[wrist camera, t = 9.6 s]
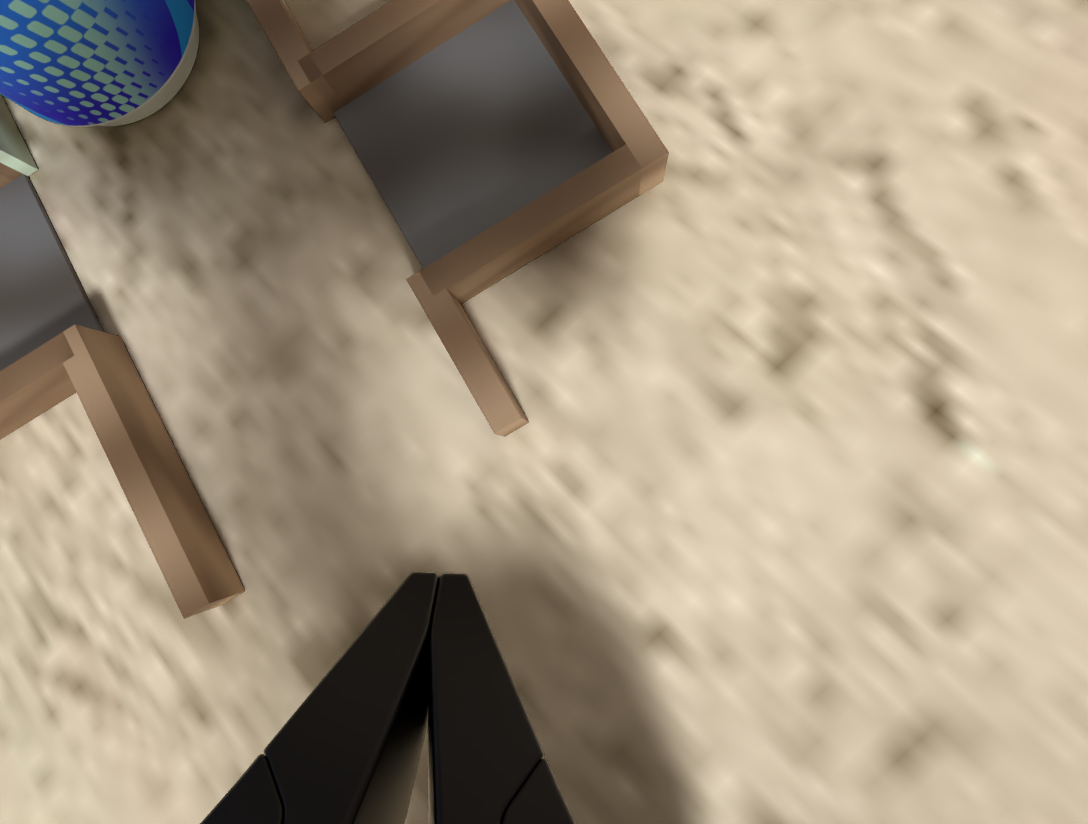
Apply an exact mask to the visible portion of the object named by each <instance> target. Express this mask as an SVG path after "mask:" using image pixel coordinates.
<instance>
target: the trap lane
mask: <svg viewBox="0 0 1088 824" xmlns="http://www.w3.org/2000/svg"><path fill="white" fill-rule="evenodd" d="M247 2H248V4H249V5H250V7H251V9H252V11H253V12H254V14H255V16H256V18H257V19H258V21H259V23H260V25H261V26H262V28H263V30H264V32H265V33H266V35H267V37H268V39H269V40H270V42H271V44H272V46H273V47H274V49H275V51H276V53H277V54H278V56H279V58H280V60H281V61H282V63H283V65H284V67H285V68H286V70H287V72H288V74H289V75H290V77H291V79H292V81H293V82H294V84H295V86H296V88H297V89H298V91H299V92H300V93H301V95H302V96H303V97H304V98H305V99H306V101H307V102H308V103H309V104H310V105H311V107H312V108H313V109H314V110H315V112H316V113H317V114H318V115H319V116H320V118H321V119H322V120H323V121H324V122H327V121H328V120H330V119H332V118H333V117H335V116H336V118H337V120H338V122H339V123H340V125H341V127H342V129H343V130H344V132H345V134H346V135H347V137H348V139H349V141H350V142H351V144H352V146H353V148H354V149H355V151H356V153H357V154H358V156H359V158H360V160H361V161H362V163H363V165H364V167H365V168H366V170H367V172H368V174H369V175H370V177H371V179H372V180H373V182H374V184H375V186H376V187H377V189H378V191H379V193H380V194H381V196H382V198H383V199H384V201H385V203H386V205H387V206H388V208H389V210H390V212H391V213H392V215H393V217H394V218H395V220H396V222H397V224H398V225H399V227H400V229H401V231H402V232H403V234H404V236H405V237H406V239H407V241H408V243H409V244H410V246H411V248H412V250H413V251H414V253H415V255H416V257H417V258H418V260H419V262H420V263H421V265H422V267H423V269H422V270H420V271H419V272H417V273H415V274H414V275H412V276H410V277H409V278H407V279H406V280H407V282H408V283H409V285H410V287H411V288H412V290H413V292H414V294H415V295H416V297H417V299H418V301H419V302H420V304H421V306H422V308H423V309H424V311H425V313H426V315H427V316H428V318H429V320H430V322H431V323H432V325H433V327H434V329H435V330H436V332H437V334H438V336H439V337H440V339H441V341H442V343H443V344H444V346H445V348H446V350H447V351H448V353H449V355H450V357H451V358H452V360H453V362H454V364H455V365H456V367H457V369H458V371H459V372H460V374H461V376H462V378H463V379H464V381H465V383H466V385H467V386H468V388H469V390H470V392H471V393H472V395H473V397H474V399H475V400H476V402H477V404H478V406H479V407H480V409H481V411H482V413H483V414H484V416H485V418H486V420H487V421H488V423H489V425H490V427H491V428H492V430H493V432H494V434H498V435H501V436H507V435H508V434H510V433H512V432H513V431H515V430H517V429H518V428H520V427H522V426H523V425H525V424H527V423H528V422H529V421H528V419H527V418H526V416H525V414H524V412H523V411H522V409H521V407H520V405H519V404H518V402H517V400H516V399H515V397H514V395H513V393H512V392H511V390H510V388H509V387H508V385H507V383H506V381H505V380H504V378H503V376H502V375H501V373H500V371H499V369H498V368H497V366H496V364H495V363H494V361H493V359H492V357H491V356H490V354H489V352H488V351H487V349H486V347H485V345H484V344H483V342H482V340H481V339H480V337H479V335H478V333H477V332H476V330H475V328H474V327H473V325H472V323H471V321H470V320H469V318H468V316H467V314H466V313H465V311H464V309H463V308H462V306H461V304H462V303H464V302H465V301H467V300H469V299H470V298H472V297H473V296H475V295H477V294H478V293H480V292H482V291H483V290H485V289H487V288H488V287H490V286H492V285H493V284H495V283H496V282H498V281H500V280H501V279H503V278H505V277H506V276H508V275H510V274H511V273H513V272H515V271H516V270H518V269H519V268H521V267H523V266H524V265H526V264H528V263H529V262H531V261H533V260H534V259H536V258H538V257H539V256H541V255H542V254H544V253H546V252H547V251H549V250H551V249H552V248H554V247H556V246H557V245H559V244H560V243H562V242H564V241H565V240H567V239H569V238H570V237H572V236H574V235H575V234H577V233H579V232H580V231H582V230H583V229H585V228H587V227H588V226H590V225H592V224H593V223H595V222H597V221H598V220H600V219H602V218H603V217H605V216H606V215H608V214H610V213H611V212H613V211H615V210H616V209H618V208H620V207H621V206H623V205H625V204H626V203H628V202H629V201H631V200H633V199H634V198H636V197H638V196H639V195H641V194H643V193H644V192H646V191H647V190H649V189H651V188H652V187H654V186H656V185H657V184H659V183H661V182H662V181H663V179H664V174H665V169H666V164H667V159H668V153H669V152H668V150H667V149H666V147H665V146H664V144H663V143H662V141H661V140H660V138H659V137H658V135H657V134H656V132H655V131H654V129H653V128H652V126H651V125H650V123H649V122H648V120H647V119H646V117H645V116H644V114H643V113H642V111H641V110H640V108H639V107H638V105H637V104H636V102H635V101H634V99H633V97H632V96H631V94H630V93H629V91H628V90H627V88H626V87H625V85H624V84H623V82H622V81H621V79H620V78H619V76H618V75H617V73H616V72H615V70H614V69H613V67H612V66H611V64H610V63H609V61H608V60H607V58H606V57H605V55H604V54H603V52H602V51H601V49H600V48H599V46H598V45H597V43H596V42H595V40H594V38H593V37H592V35H591V34H590V32H589V31H588V29H587V28H586V26H585V25H584V23H583V22H582V20H581V19H580V17H579V16H578V14H577V13H576V11H575V10H574V8H573V7H572V5H571V4H570V2H569V1H568V0H392V1H390V2H389V3H387V4H386V5H384V6H382V7H381V8H379V9H378V10H376V11H375V12H373V13H372V14H370V15H368V16H367V17H365V18H364V19H362V20H361V21H359V22H357V23H356V24H354V25H353V26H351V27H350V28H348V29H346V30H345V31H343V32H342V33H340V34H339V35H337V36H336V37H334V38H332V39H331V40H329V41H328V42H326V43H325V44H323V45H321V46H320V47H318V48H317V49H315V50H314V51H313V50H312V48H311V47H310V45H309V43H308V41H307V40H306V38H305V36H304V35H303V33H302V31H301V29H300V28H299V26H298V24H297V23H296V21H295V19H294V17H293V16H292V14H291V12H290V11H289V9H288V7H287V5H286V4H285V2H284V0H247ZM37 170H38V168H37V166H36V164H35V162H34V160H33V158H32V156H31V154H30V152H29V150H28V148H27V146H26V144H25V142H24V140H23V138H22V136H21V134H20V132H19V130H18V128H17V126H16V124H15V122H14V119H13V117H12V115H11V113H10V111H9V109H8V107H7V105H6V103H5V101H4V99H3V97H2V95H1V94H0V439H2V438H4V437H5V436H7V435H8V434H10V433H12V432H13V431H15V430H16V429H18V428H20V427H21V426H23V425H24V424H26V423H28V422H29V421H31V420H32V419H34V418H36V417H37V416H39V415H40V414H42V413H44V412H45V411H47V410H49V409H50V408H52V407H53V406H55V405H57V404H58V403H60V402H61V401H63V400H65V399H66V398H68V397H69V396H71V395H73V394H74V393H76V392H77V394H78V396H79V398H80V400H81V402H82V404H83V407H84V409H85V411H86V413H87V415H88V417H89V419H90V421H91V423H92V426H93V428H94V430H95V432H96V434H97V436H98V438H99V440H100V442H101V445H102V447H103V449H104V451H105V453H106V455H107V457H108V459H109V461H110V464H111V466H112V468H113V470H114V472H115V474H116V476H117V478H118V480H119V483H120V485H121V487H122V489H123V491H124V493H125V495H126V497H127V499H128V502H129V504H130V506H131V508H132V510H133V512H134V514H135V516H136V518H137V521H138V523H139V525H140V527H141V529H142V531H143V533H144V535H145V537H146V540H147V542H148V544H149V546H150V548H151V550H152V552H153V554H154V556H155V559H156V561H157V563H158V565H159V567H160V569H161V571H162V573H163V575H164V578H165V580H166V582H167V584H168V586H169V588H170V590H171V592H172V594H173V597H174V599H175V601H176V603H177V605H178V607H179V609H180V611H181V613H182V616H183V618H187V617H190V616H193V615H195V614H198V613H201V612H204V611H206V610H209V609H212V608H215V607H217V606H220V605H223V604H224V603H226V602H228V601H229V600H231V599H233V598H234V597H236V596H238V595H240V594H241V593H243V592H245V589H244V587H243V585H242V583H241V581H240V579H239V577H238V575H237V573H236V571H235V569H234V567H233V565H232V563H231V561H230V559H229V557H228V555H227V553H226V551H225V549H224V547H223V545H222V543H221V541H220V539H219V537H218V535H217V532H216V530H215V528H214V526H213V524H212V522H211V520H210V518H209V516H208V514H207V512H206V510H205V508H204V506H203V504H202V502H201V500H200V498H199V496H198V494H197V492H196V490H195V488H194V486H193V484H192V482H191V480H190V478H189V476H188V473H187V471H186V469H185V467H184V465H183V463H182V461H181V459H180V457H179V455H178V453H177V451H176V449H175V447H174V445H173V443H172V441H171V439H170V437H169V435H168V433H167V431H166V429H165V427H164V425H163V423H162V421H161V419H160V417H159V414H158V412H157V410H156V408H155V406H154V404H153V402H152V400H151V398H150V396H149V394H148V392H147V390H146V388H145V386H144V384H143V382H142V380H141V378H140V376H139V374H138V372H137V370H136V368H135V366H134V364H133V362H132V360H131V358H130V355H129V353H128V351H127V349H126V347H125V345H124V343H123V341H122V339H121V337H120V336H117V335H113V334H109V333H105V332H104V331H103V329H102V327H101V325H100V323H99V321H98V319H97V317H96V315H95V313H94V310H93V308H92V306H91V304H90V302H89V300H88V298H87V296H86V294H85V292H84V290H83V288H82V286H81V284H80V282H79V280H78V278H77V276H76V274H75V272H74V269H73V267H72V265H71V263H70V261H69V259H68V257H67V255H66V253H65V251H64V249H63V247H62V245H61V243H60V241H59V239H58V237H57V235H56V233H55V231H54V229H53V226H52V224H51V222H50V220H49V218H48V216H47V214H46V212H45V210H44V208H43V206H42V204H41V202H40V200H39V198H38V196H37V194H36V192H35V190H34V188H33V185H32V183H31V181H30V179H29V177H28V176H29V175H31V174H32V173H34V172H35V171H37Z"/></svg>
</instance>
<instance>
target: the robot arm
mask: <svg viewBox="0 0 1088 824" xmlns="http://www.w3.org/2000/svg"><path fill="white" fill-rule="evenodd" d="M427 719H428V824H576V823H575V821H574V819H573V816H572V814H571V812H570V810H569V808H568V806H567V803H566V801H565V799H564V797H563V795H562V793H561V791H560V788H559V786H558V784H557V782H556V779H555V777H554V775H553V772H552V770H551V767H550V765H549V763H548V761H547V760H546V759H544V757H545V755H544V752H543V749H542V747H541V745H540V742H539V740H538V738H537V735H536V733H535V731H534V728H533V726H532V723H531V721H530V719H529V716H528V714H527V712H526V709H525V707H524V705H523V702H522V700H521V698H520V695H519V693H518V690H517V688H516V686H515V683H514V681H513V679H512V676H511V674H510V672H509V669H508V667H507V665H506V662H505V660H504V657H503V655H502V653H501V650H500V648H499V646H498V643H497V641H496V639H495V636H494V634H493V632H492V629H491V627H490V624H489V622H488V620H487V617H486V615H485V613H484V610H483V608H482V606H481V603H480V601H479V599H478V596H477V594H476V591H475V589H474V587H473V584H472V582H471V580H470V578H469V576H468V575H467V574H465V573H443V574H442V575H441V576H439V574H438V573H436V572H419V571H415V572H412V573H411V574H410V575H409V576H408V577H407V578H406V579H405V581H404V582H403V583H402V584H401V586H400V587H399V588H398V589H397V590H396V592H395V593H394V594H393V595H392V596H391V598H390V599H389V600H388V601H387V602H386V604H385V605H384V606H383V607H382V608H381V610H380V611H379V612H378V613H377V614H376V616H375V617H374V618H373V619H372V620H371V622H370V623H369V624H368V625H367V626H366V628H365V629H364V630H363V631H362V632H361V634H360V635H359V636H358V637H357V638H356V640H355V641H354V642H353V643H352V644H351V646H350V647H349V648H348V649H347V650H346V652H345V653H344V654H343V655H342V656H341V658H340V659H339V660H338V661H337V663H336V664H335V665H334V666H333V667H332V669H331V670H330V671H329V672H328V673H327V675H326V676H325V677H324V678H323V679H322V681H321V682H320V683H319V684H318V685H317V687H316V688H315V689H314V690H313V691H312V693H311V694H310V695H309V696H308V697H307V699H306V700H305V701H304V702H303V703H302V705H301V706H300V707H299V708H298V709H297V711H296V712H295V713H294V714H293V715H292V717H291V718H290V719H289V720H288V721H287V723H286V724H285V725H284V726H283V727H282V729H281V730H280V731H279V732H278V733H277V735H276V736H275V737H274V738H273V740H272V741H271V742H270V743H269V744H268V746H267V747H266V748H265V749H264V755H263V754H261V755H259V756H258V757H257V758H256V759H255V761H254V762H253V763H252V764H251V766H250V767H249V768H248V769H247V770H246V772H245V773H244V774H243V775H242V776H241V778H240V779H239V780H238V781H237V782H236V784H235V785H234V786H233V787H232V788H231V789H230V790H229V792H228V793H227V794H226V795H225V796H224V797H223V798H222V800H221V801H220V802H219V803H218V804H217V805H216V806H215V808H214V809H213V810H212V811H211V812H210V813H209V814H208V816H207V817H206V818H205V819H204V820H203V821H202V822H201V823H200V824H405V819H406V815H407V811H408V806H409V802H410V798H411V793H412V789H413V785H414V780H415V776H416V772H417V767H418V763H419V759H420V754H421V750H422V746H423V741H424V736H425V731H426V726H427Z"/></svg>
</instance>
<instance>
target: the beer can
mask: <svg viewBox="0 0 1088 824" xmlns="http://www.w3.org/2000/svg"><path fill="white" fill-rule="evenodd" d="M198 45H199V24H198V18H197V13H196V3H195V0H0V94H1V95H3V96H5V97H6V98H8V99H10V100H11V101H13V102H15V103H16V104H18V105H19V106H21V107H23V108H24V109H26V110H28V111H29V112H31V113H33V114H34V115H36V116H38V117H40V118H42V119H45V120H47V121H50V122H53V123H56V124H60V125H65V126H75V127H87V126H97V125H98V126H119V125H125V124H130V123H133V122H136V121H139V120H141V119H144V118H146V117H148V116H150V115H152V114H153V113H155V112H156V111H158V110H159V109H161V108H162V107H163V106H164V105H166V104H167V103H168V102H169V101H170V100H171V99H172V98H173V97H174V96H175V95H176V94H177V93H178V91H179V90H180V89H181V87H182V86H183V85H184V83H185V81H186V80H187V78H188V76H189V74H190V72H191V70H192V68H193V65H194V62H195V59H196V56H197V51H198Z"/></svg>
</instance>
